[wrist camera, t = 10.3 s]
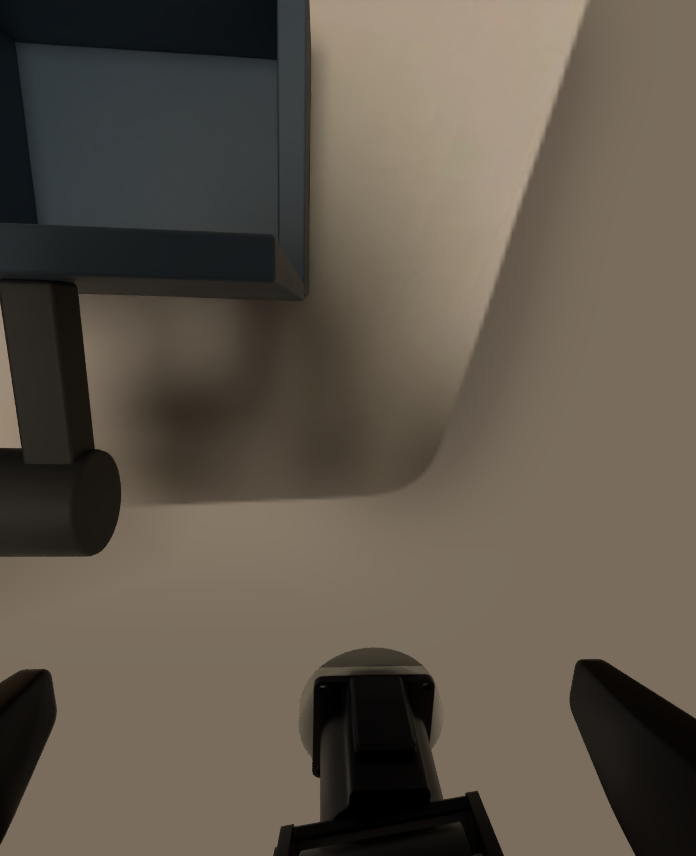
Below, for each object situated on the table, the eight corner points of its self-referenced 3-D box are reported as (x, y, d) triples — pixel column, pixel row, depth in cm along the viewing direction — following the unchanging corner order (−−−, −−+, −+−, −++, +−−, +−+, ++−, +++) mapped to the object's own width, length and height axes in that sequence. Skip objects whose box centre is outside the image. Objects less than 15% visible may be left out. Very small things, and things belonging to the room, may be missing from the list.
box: (2, 26, 16) (-129, -89, 11) (311, 47, 17) (307, -53, 12) (36, 287, 18) (-62, 280, 13) (308, 296, 19) (304, 292, 14)
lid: (-902, 184, 4) (-657, 615, 5) (274, 233, 5) (277, 607, 6) (-71, 270, 13) (-44, 424, 14) (304, 283, 14) (303, 430, 15)
